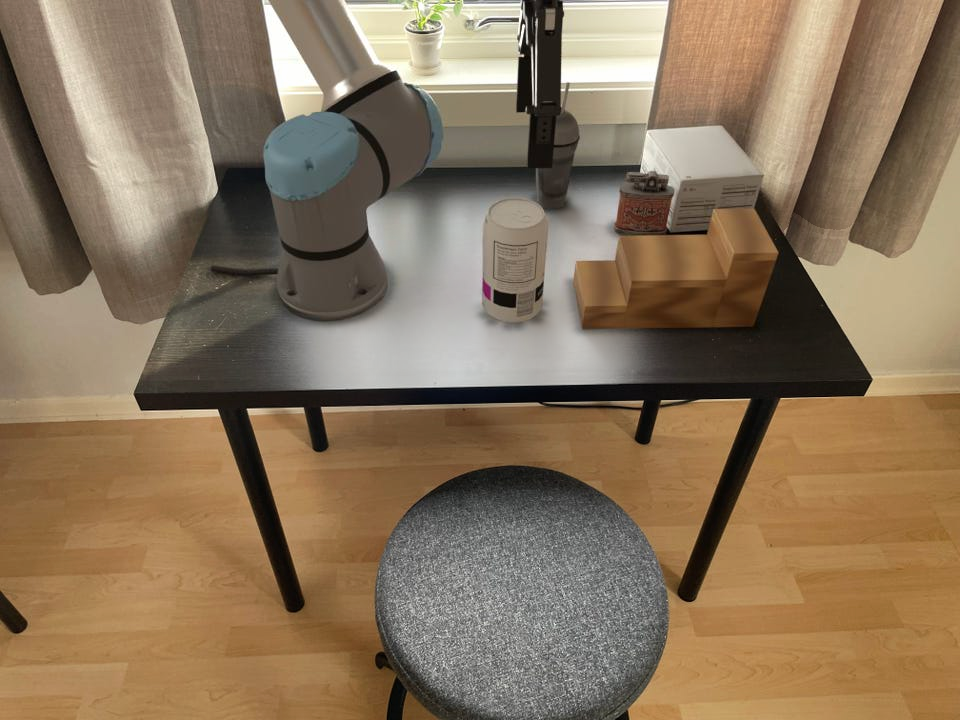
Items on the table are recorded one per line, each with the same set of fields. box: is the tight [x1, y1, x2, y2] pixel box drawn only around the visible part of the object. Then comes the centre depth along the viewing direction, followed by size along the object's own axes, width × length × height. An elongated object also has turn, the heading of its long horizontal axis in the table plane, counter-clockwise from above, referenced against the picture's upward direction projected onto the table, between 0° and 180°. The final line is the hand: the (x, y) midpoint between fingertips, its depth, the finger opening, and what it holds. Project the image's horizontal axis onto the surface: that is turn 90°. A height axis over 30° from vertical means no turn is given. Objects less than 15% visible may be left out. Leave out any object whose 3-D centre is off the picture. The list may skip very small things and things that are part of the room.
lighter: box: [613, 171, 675, 236], centre depth 111 cm, size 8×3×10 cm, turn 84°
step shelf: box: [572, 208, 779, 330], centre depth 98 cm, size 23×10×12 cm, turn 92°
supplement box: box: [639, 125, 765, 233], centre depth 118 cm, size 17×13×9 cm
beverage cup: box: [535, 82, 581, 210], centre depth 114 cm, size 7×7×20 cm
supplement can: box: [481, 197, 549, 324], centre depth 96 cm, size 8×8×15 cm
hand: (532, 137), depth 86 cm, fingers open, 13 cm apart
